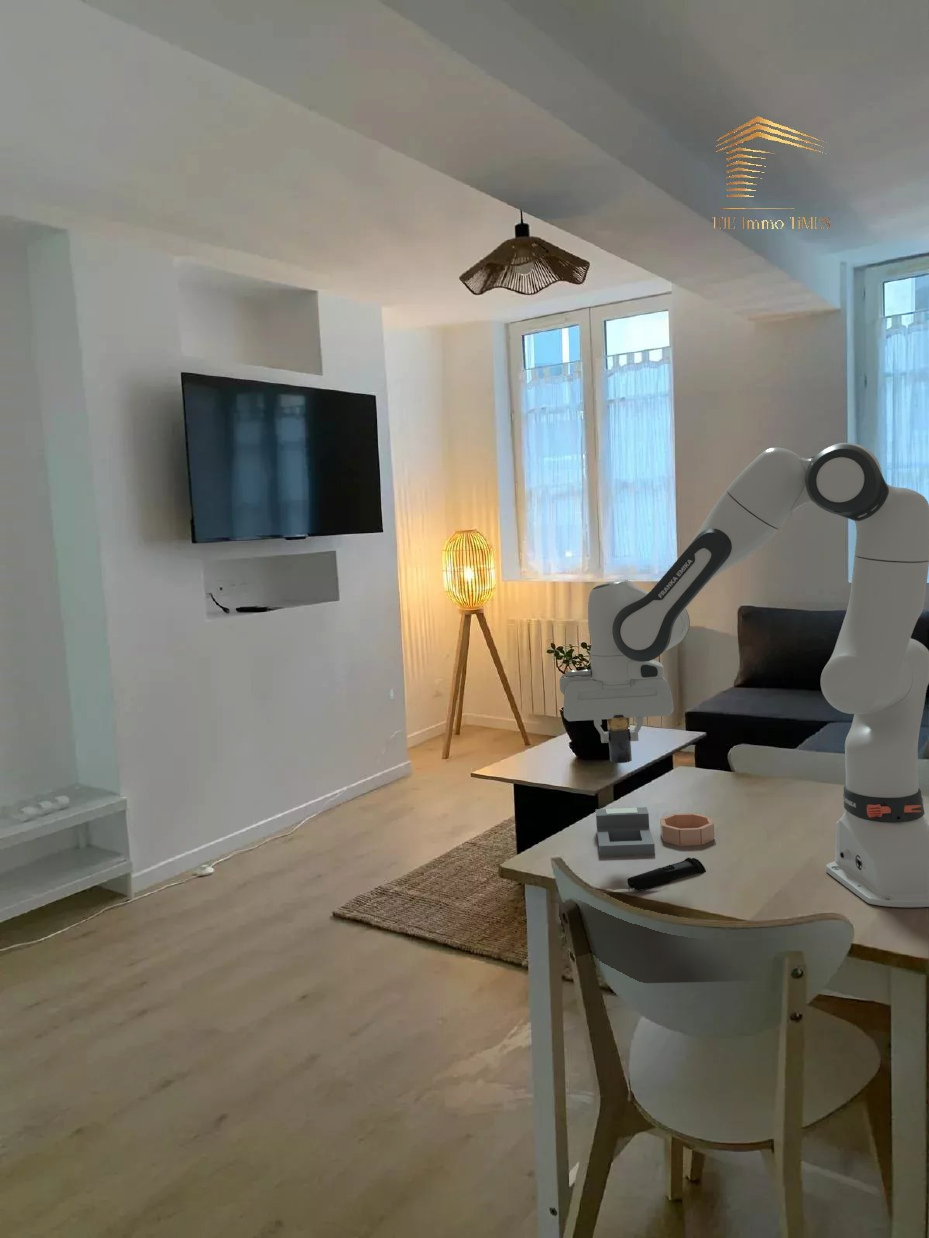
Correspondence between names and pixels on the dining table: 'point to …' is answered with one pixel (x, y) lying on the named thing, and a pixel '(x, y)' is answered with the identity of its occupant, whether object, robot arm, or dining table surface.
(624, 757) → the cell
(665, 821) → the dish
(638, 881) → the electric trimmer
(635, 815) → the grey charging dock
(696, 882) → the dining table surface
